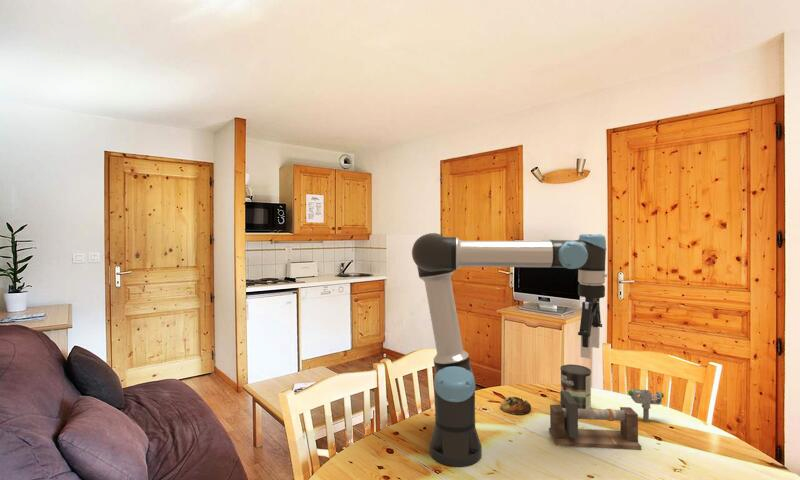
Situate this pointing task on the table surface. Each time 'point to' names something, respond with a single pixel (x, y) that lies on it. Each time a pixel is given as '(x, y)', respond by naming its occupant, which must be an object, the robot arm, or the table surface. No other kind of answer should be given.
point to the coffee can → (577, 384)
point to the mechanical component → (645, 400)
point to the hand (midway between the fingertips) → (590, 352)
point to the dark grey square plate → (570, 413)
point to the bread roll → (515, 406)
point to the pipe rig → (597, 438)
